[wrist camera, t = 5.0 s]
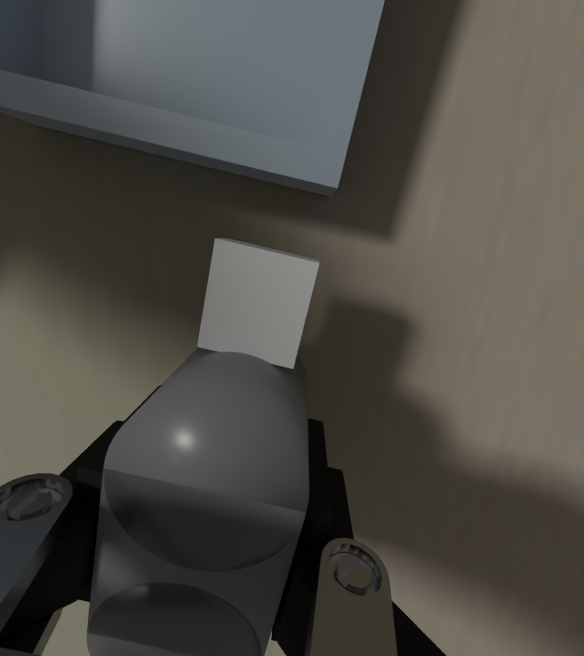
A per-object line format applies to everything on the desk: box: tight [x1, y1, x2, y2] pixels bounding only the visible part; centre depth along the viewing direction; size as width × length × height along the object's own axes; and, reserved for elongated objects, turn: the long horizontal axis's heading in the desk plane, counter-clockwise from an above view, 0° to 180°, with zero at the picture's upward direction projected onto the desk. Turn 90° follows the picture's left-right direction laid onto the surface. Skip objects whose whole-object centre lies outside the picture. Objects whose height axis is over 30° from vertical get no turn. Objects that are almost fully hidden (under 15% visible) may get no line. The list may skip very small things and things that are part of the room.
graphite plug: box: [87, 238, 319, 656], centre depth 8 cm, size 10×4×4 cm, turn 167°
